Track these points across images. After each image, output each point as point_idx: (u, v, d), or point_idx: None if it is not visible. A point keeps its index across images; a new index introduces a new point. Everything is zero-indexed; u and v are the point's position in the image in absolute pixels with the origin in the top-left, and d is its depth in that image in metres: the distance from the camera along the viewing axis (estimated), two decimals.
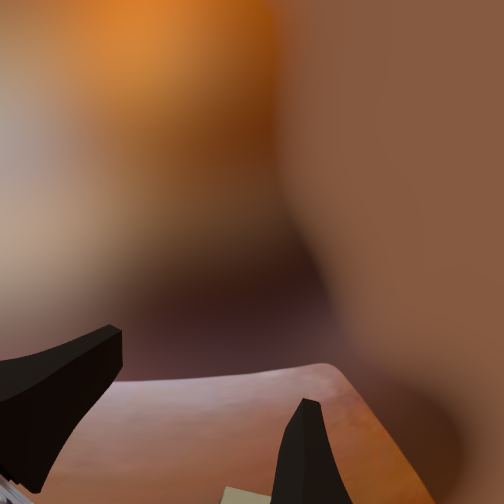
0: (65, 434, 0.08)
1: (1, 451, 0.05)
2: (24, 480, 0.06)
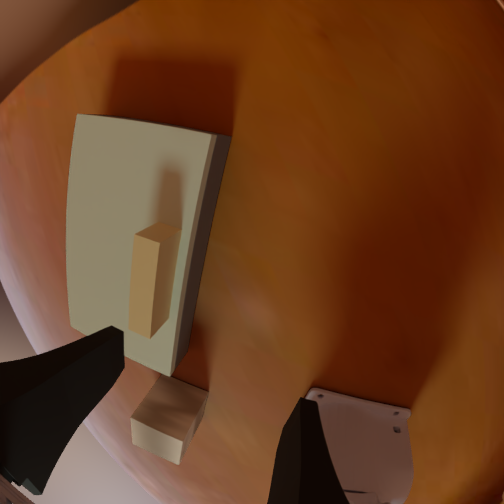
0: (67, 435, 0.08)
1: (3, 453, 0.05)
2: (26, 481, 0.06)
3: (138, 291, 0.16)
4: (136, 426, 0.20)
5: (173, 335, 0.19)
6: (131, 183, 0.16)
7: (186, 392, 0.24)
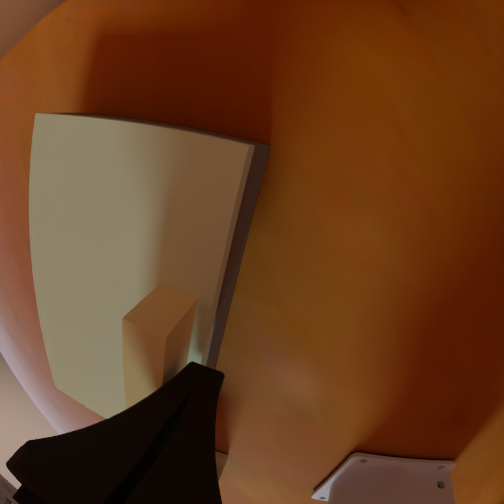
0: None
1: None
2: None
3: (137, 391, 0.10)
4: None
5: None
6: (114, 222, 0.10)
7: None
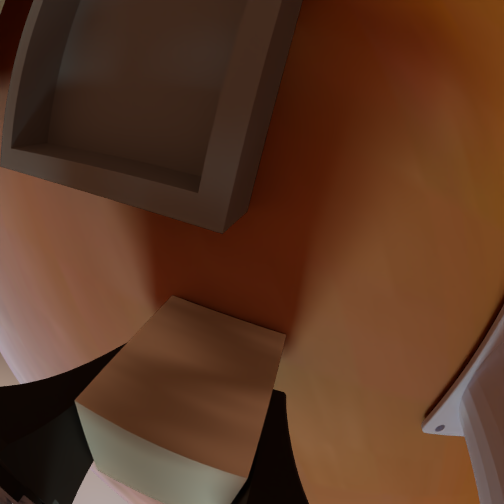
0: None
1: (34, 479, 0.04)
2: (53, 502, 0.05)
3: None
4: (95, 429, 0.06)
5: None
6: None
7: (234, 336, 0.10)
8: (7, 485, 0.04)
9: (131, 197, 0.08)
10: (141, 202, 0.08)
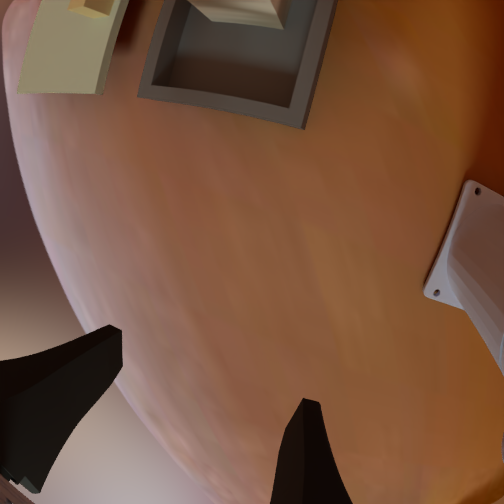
0: (65, 434, 0.08)
1: (1, 451, 0.05)
2: (24, 480, 0.06)
3: None
4: None
5: (108, 32, 0.13)
6: None
7: None
8: None
9: (250, 111, 0.14)
10: (256, 113, 0.14)
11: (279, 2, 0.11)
